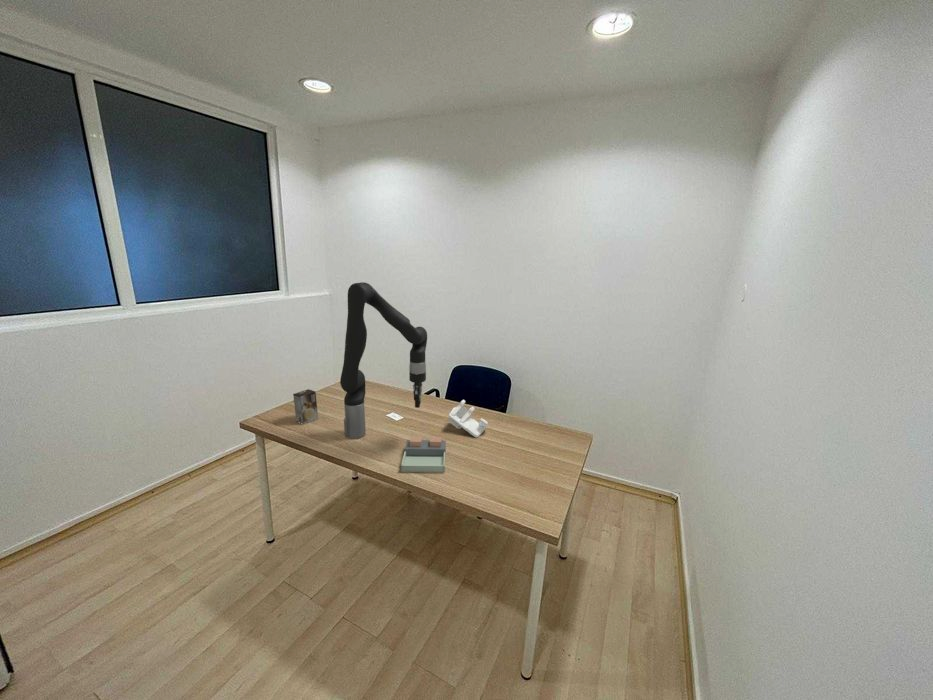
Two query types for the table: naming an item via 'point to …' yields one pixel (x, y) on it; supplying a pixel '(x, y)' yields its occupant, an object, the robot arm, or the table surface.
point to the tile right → (435, 441)
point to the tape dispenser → (466, 420)
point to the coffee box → (305, 406)
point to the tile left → (415, 441)
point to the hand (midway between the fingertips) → (417, 405)
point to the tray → (423, 464)
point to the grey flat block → (426, 449)
